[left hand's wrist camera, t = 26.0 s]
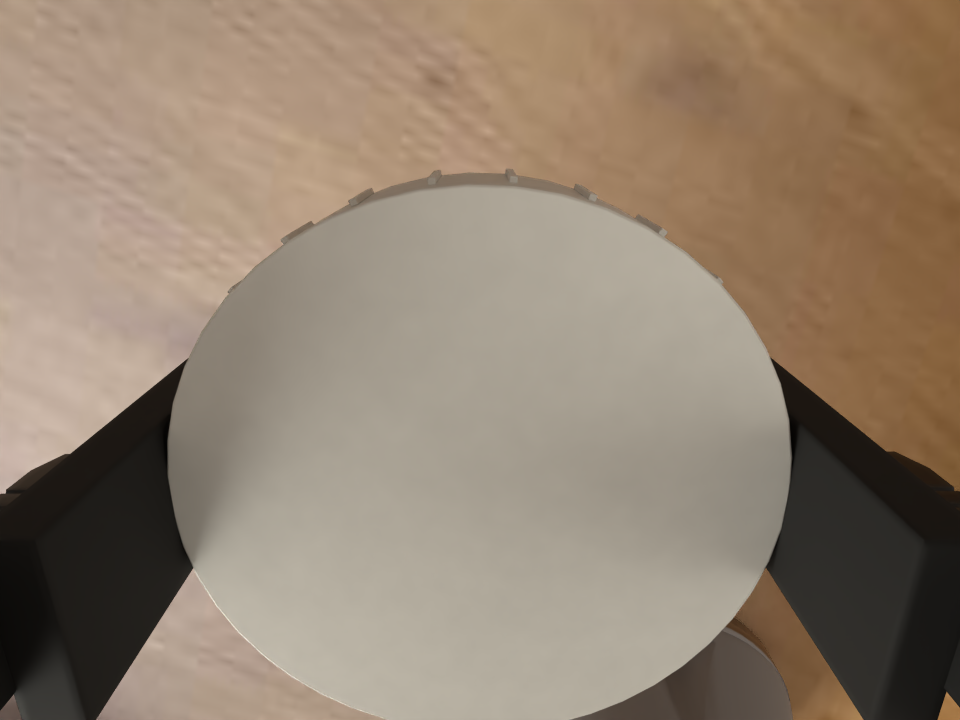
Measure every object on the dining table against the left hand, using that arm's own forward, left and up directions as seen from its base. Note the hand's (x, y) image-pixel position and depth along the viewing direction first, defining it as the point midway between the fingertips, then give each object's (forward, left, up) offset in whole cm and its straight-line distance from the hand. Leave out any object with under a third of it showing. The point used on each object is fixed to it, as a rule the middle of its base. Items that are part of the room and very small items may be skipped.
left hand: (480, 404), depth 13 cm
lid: (0, 0, +3) cm, 3 cm away
